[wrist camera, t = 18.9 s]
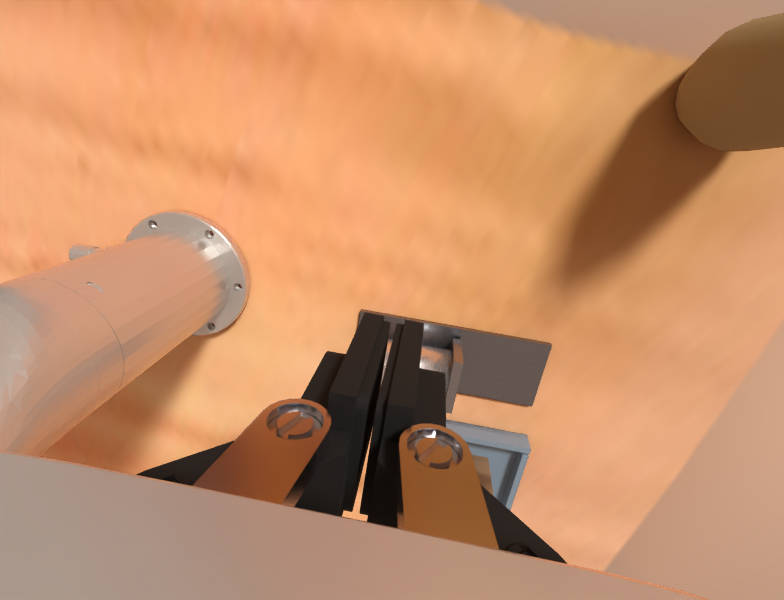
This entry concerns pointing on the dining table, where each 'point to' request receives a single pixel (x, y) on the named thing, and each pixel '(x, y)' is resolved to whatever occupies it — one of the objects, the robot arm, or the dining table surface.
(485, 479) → the block
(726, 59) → the squeeze bottle
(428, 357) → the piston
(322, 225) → the dining table surface
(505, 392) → the rail
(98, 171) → the dining table surface
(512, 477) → the tray
